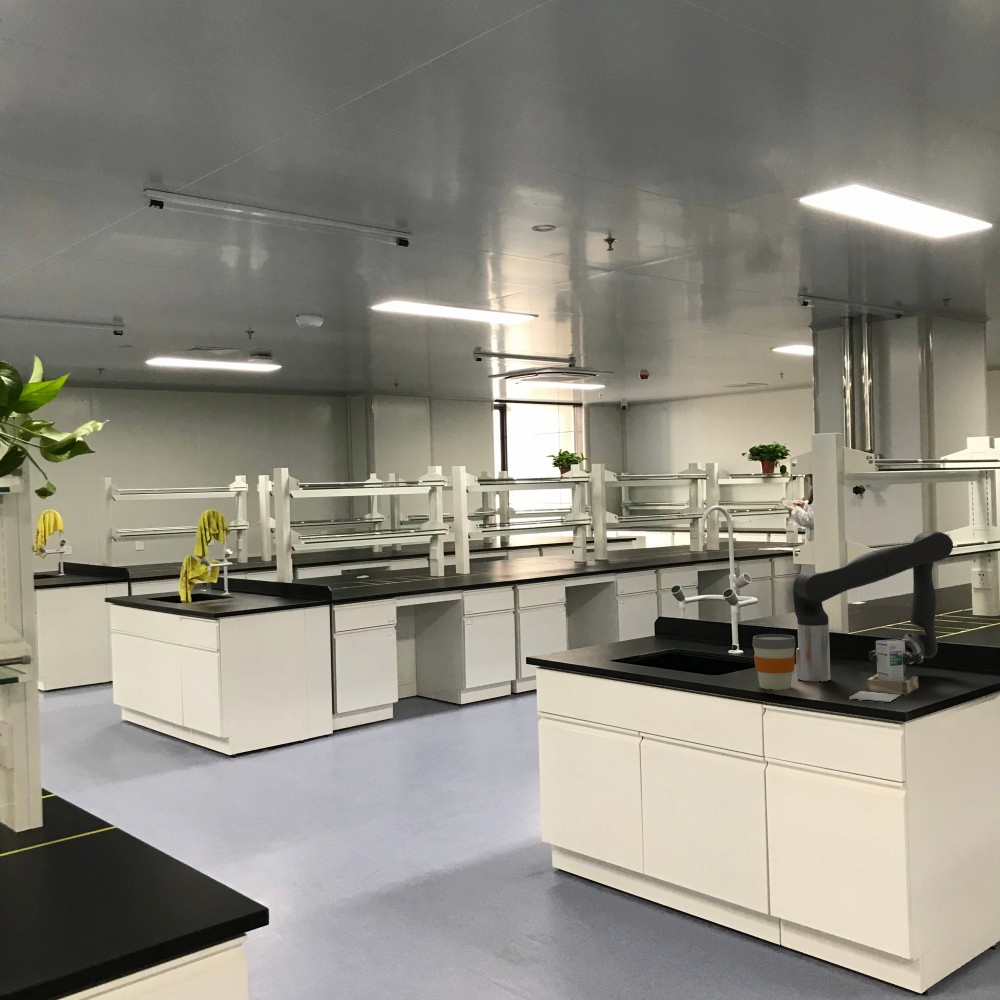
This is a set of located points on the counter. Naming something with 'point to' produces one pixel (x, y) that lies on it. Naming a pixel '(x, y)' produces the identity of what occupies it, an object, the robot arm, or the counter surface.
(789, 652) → the reusable coffee cup
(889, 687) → the maple sleeve
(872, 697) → the grey mat
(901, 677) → the syrup box
